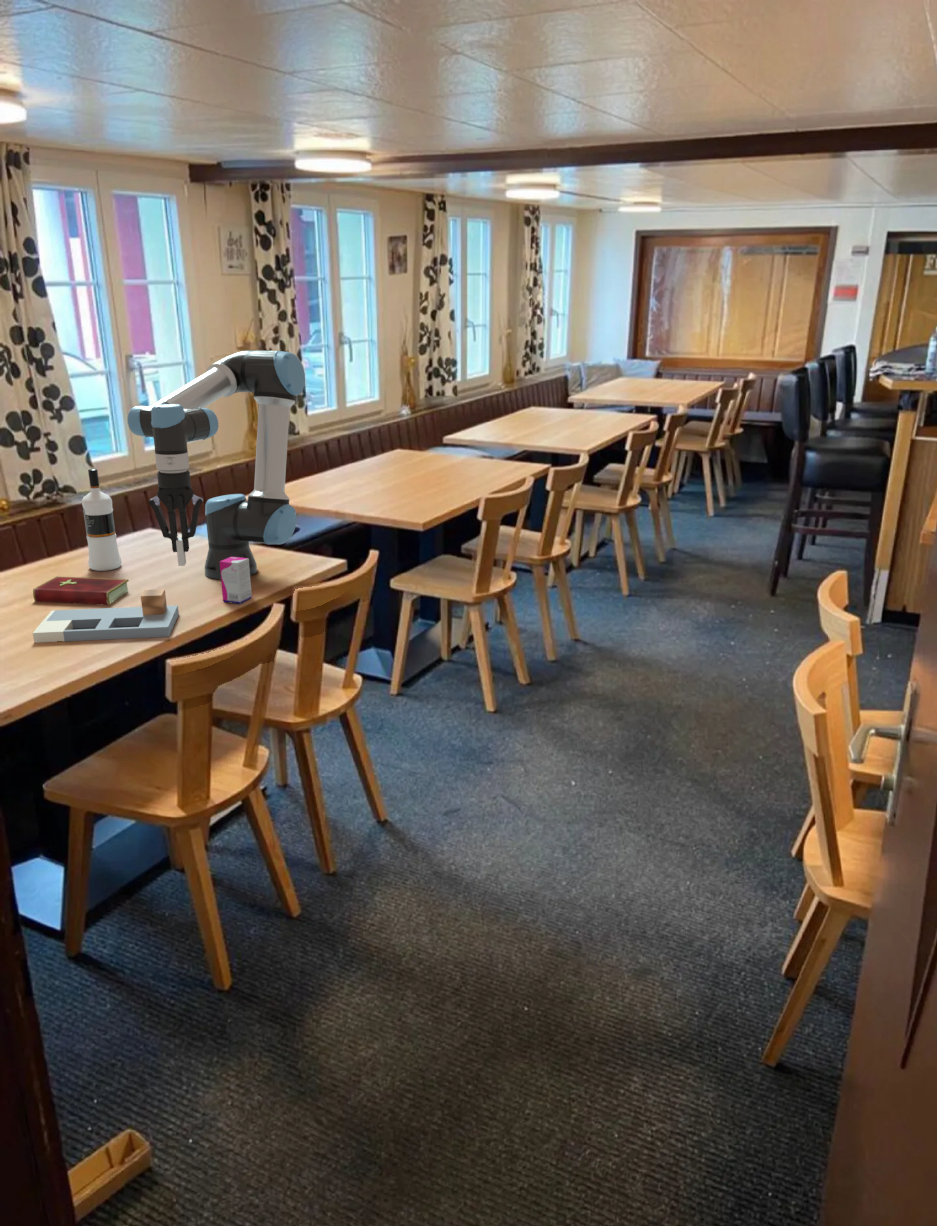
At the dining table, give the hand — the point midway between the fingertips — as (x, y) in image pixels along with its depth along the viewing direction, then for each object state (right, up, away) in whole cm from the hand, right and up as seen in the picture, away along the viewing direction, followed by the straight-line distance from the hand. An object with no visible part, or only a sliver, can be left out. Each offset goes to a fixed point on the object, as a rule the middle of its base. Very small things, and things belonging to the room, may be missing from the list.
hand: (182, 564), depth 218 cm
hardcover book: (-34, -8, +21) cm, 41 cm away
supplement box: (+9, -9, +20) cm, 23 cm away
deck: (-17, -16, -1) cm, 23 cm away
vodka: (-39, +1, +47) cm, 61 cm away
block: (-8, -12, +3) cm, 15 cm away
